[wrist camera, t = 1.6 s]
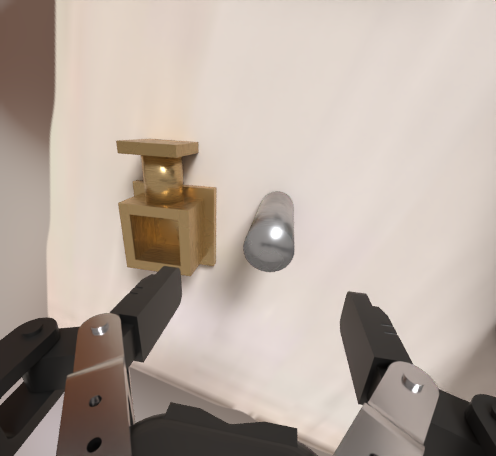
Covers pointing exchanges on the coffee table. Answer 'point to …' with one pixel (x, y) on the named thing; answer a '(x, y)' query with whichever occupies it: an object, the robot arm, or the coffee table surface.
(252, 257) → the silver round-ended rod
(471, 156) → the coffee table surface
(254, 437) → the robot arm
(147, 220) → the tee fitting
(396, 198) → the coffee table surface
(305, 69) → the coffee table surface
